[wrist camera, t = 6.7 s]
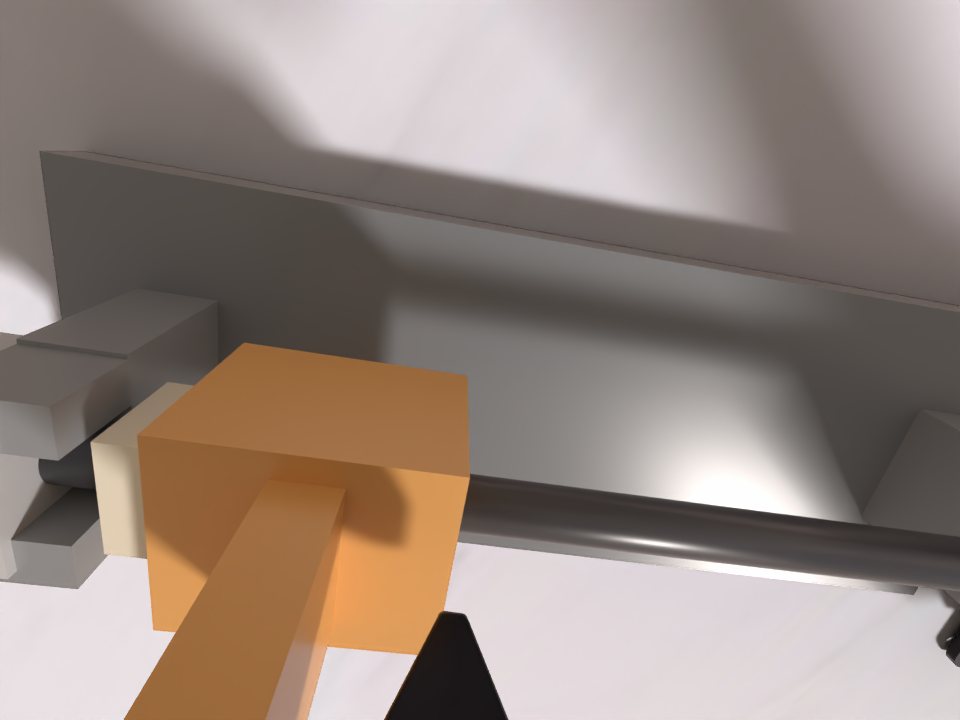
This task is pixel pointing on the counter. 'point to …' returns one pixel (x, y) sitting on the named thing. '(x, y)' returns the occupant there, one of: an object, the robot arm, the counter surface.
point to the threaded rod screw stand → (493, 380)
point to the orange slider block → (296, 525)
